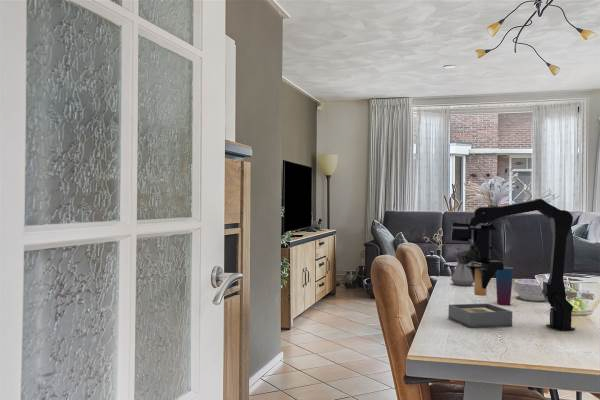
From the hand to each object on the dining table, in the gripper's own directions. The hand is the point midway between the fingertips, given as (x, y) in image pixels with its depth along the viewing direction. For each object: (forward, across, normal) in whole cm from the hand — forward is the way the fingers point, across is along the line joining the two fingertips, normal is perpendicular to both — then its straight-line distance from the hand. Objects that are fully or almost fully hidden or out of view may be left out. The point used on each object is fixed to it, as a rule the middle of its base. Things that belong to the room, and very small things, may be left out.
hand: (480, 287), depth 184 cm
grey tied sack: (+12, -72, +35) cm, 81 cm away
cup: (+12, -28, +29) cm, 42 cm away
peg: (+2, 0, 0) cm, 2 cm away
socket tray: (+12, 0, 0) cm, 12 cm away
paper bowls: (+12, -36, +49) cm, 62 cm away
